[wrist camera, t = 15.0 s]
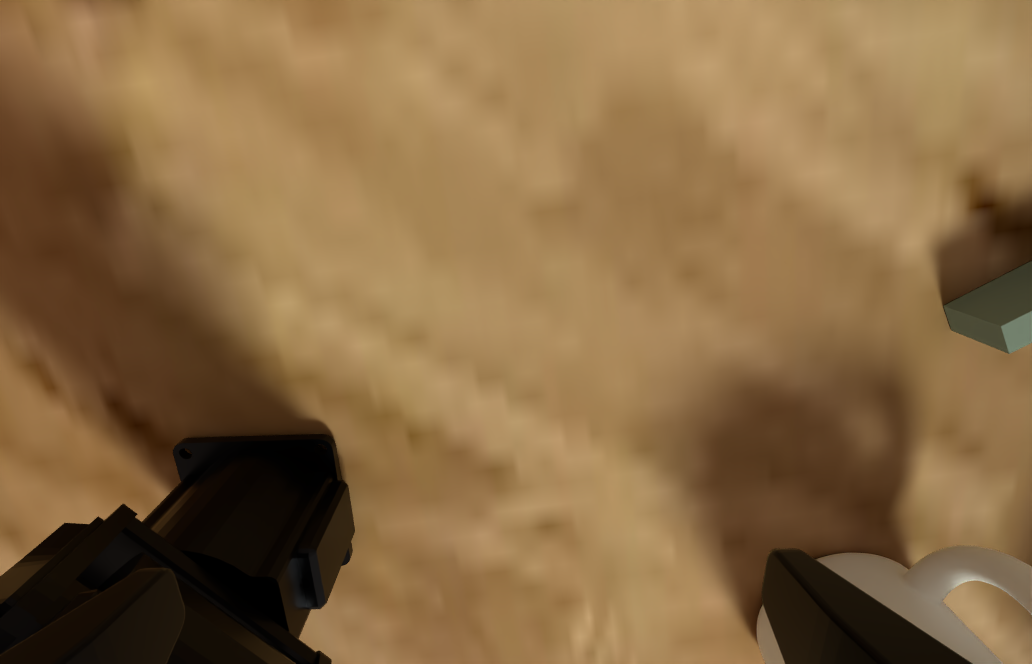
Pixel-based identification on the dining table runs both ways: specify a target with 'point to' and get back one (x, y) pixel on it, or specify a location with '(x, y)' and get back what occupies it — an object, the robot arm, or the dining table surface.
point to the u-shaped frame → (997, 311)
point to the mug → (924, 592)
